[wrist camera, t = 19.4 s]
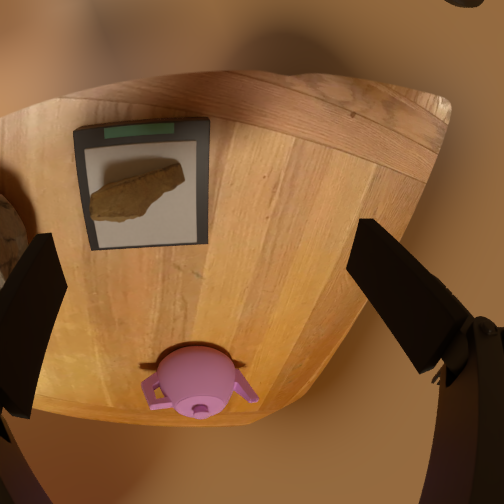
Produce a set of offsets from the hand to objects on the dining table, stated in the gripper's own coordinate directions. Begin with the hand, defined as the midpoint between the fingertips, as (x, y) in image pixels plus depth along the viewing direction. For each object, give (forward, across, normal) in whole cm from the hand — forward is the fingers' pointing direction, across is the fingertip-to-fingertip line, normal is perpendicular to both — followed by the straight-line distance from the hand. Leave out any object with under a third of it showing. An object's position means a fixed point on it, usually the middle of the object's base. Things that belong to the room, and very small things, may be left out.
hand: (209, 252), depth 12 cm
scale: (+27, -6, -6) cm, 28 cm away
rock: (+23, -6, -6) cm, 25 cm away
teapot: (+27, -1, -44) cm, 52 cm away
